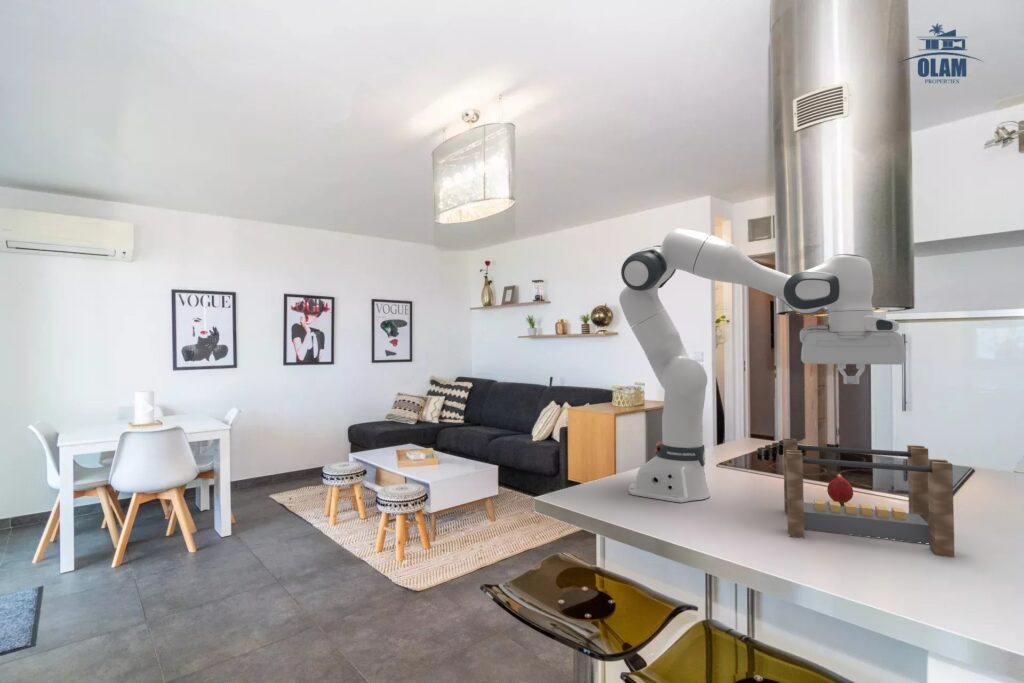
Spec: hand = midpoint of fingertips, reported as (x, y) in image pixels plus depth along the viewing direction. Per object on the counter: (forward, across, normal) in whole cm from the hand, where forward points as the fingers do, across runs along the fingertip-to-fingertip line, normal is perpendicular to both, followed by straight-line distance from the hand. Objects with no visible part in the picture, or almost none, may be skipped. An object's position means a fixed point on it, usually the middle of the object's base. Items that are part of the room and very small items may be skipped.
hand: (851, 384), depth 120 cm
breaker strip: (+33, +1, -2) cm, 33 cm away
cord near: (+17, +1, -10) cm, 20 cm away
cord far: (+17, +1, +6) cm, 18 cm away
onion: (+33, 0, +18) cm, 38 cm away
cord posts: (+33, +1, -2) cm, 33 cm away
